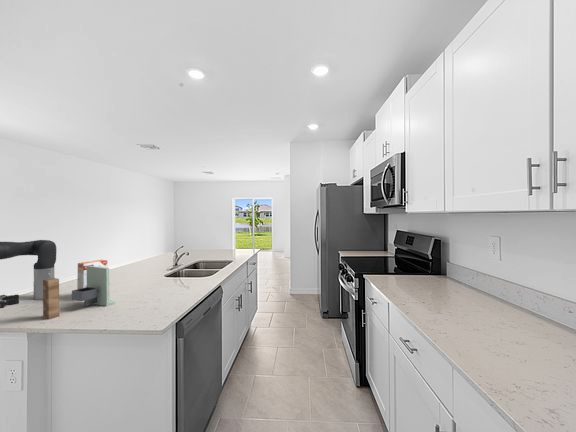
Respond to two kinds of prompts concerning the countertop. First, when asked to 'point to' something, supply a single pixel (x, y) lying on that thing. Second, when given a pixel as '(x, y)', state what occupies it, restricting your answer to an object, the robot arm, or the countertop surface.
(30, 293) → the countertop surface
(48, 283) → the walnut rail
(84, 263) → the cracker box
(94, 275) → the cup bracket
